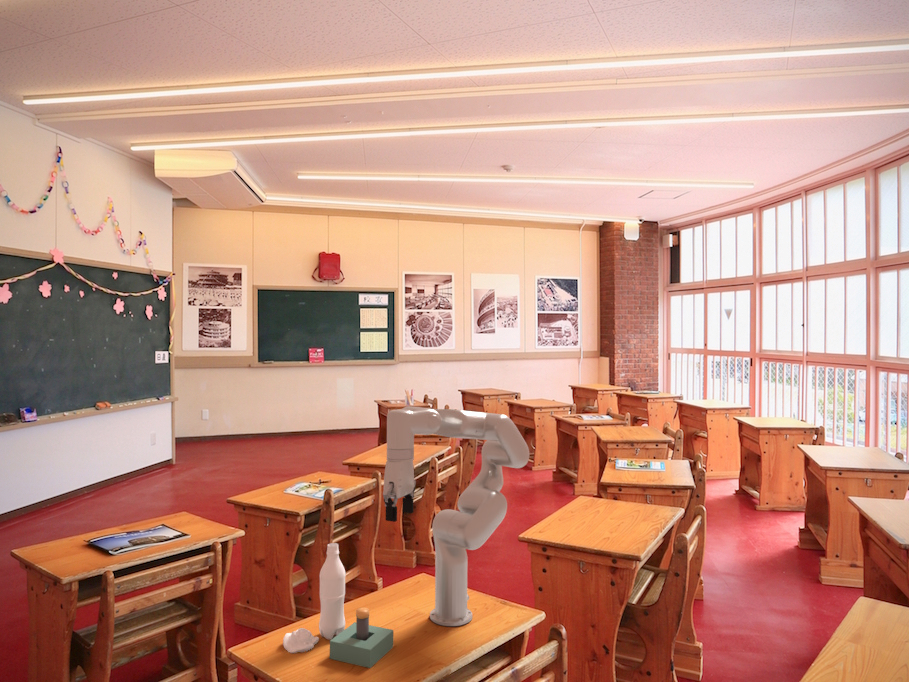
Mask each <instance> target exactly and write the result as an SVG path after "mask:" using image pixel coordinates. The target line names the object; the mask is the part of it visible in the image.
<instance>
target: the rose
mask: <svg viewBox="0 0 909 682" xmlns="http://www.w3.org/2000/svg"><path fill="white" fill-rule="evenodd" d="M319 640H320V638H319V637H318V636H314V635H313V634H312V632H311V630H309V629H306V628H303V627H299V628H298V629H296V630H293V631H292V632H286V633H285V635H284V636H283V638H282V646H283V647H284V649H285V651H286V650H287V651H288V652H287V651H286V652H287V653H289V652H290V653H289V654H298V653H297V652H301V653H305V651H306V652H309V651H311V650H313V649H314V647H315V646H316V645H317V644H318V642H319ZM315 644H316V645H315ZM314 645H315V646H314ZM312 648H313V649H312ZM310 649H311V650H310ZM308 650H309V651H308Z"/></svg>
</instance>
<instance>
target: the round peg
mask: <svg viewBox="0 0 909 682" xmlns="http://www.w3.org/2000/svg"><path fill="white" fill-rule="evenodd" d="M355 617H356V620H355V622H356V639H359V640H363V641H366V640H367V639H368V638H369V625H370V608H368V607H359V608H357V609H356V610H355Z"/></svg>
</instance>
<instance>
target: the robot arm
mask: <svg viewBox="0 0 909 682" xmlns="http://www.w3.org/2000/svg"><path fill="white" fill-rule="evenodd" d="M416 435H424V436H430V435H437V436H442V437H446V438H453V439H468V440H469V439H470V440H482V441H484V443H483V445H482V448H481V467H480V471H479V473H478V474H477V476H476V477H475V478H474V479H473V480H472V481H471V483H469V485H467V487H466V488H465V489H464V490H463V491H462V492H461V494H460V496H459V497H458V499H457V508H458V510H457V509H449V508H447V509H443V510H440V511H439V512H438V513H437V514H436V515H435V516H434V518H433V520H432V524H431V525H432V527H431V528H432V536H433V540H434V549H435V551H434V552H435V565H434V566H435V570H434V571H435V575H434V576H435V579H434V580H435V581H434V585H435V588H434V589H435V590H434V592H435V594H434V595H435V598H434V604H435V605H434V607H435V608H433V609H432V610H431V611H430V612H429V618H430V619H429V620H431V621H432V623H434V624H436V625H440V626H444V627H445V626H446V627H459V626H463V625H466V624H468V623H470V621H472V620H473V612H472V611H471V610H470V609H469V608H468V601H469V600H470V595H469V594H468V554H467V550H469V551H475V550H477V549H479V548H481V547H482V546H483V545H484V544H485V543H486V542H487V540H488V539H489V538H490V537H491V535H493V533H494V532H495V530H496V529H497V528H498V527H499V526H500V525H501V523H502V522H503V520H504V519H505V518H506V514H507V512H508V501H507V498H506V496H505V495H504V494H503V493H502V492H501V490H502V488H503V486H504V475H503V474H504V473H503V467H508V468H512V469H513V468H514V469H521V468H523V467H525V466H526V465H527V464H528V462H529V459H530V448H529V446H528V444H527V442H526V440H525V439H524V437H523V436H522V434H521V432H520V431H519V428H518V427H517V425H516V424H515V423H514V421H513V420H512V419H511V418H510V417H509V416H508V415H506V414H504V413H503V414H500V413H492V412H490V413H489V412H483V411H474V410H472V411H471V410H464V409H455V408H453V409H452V408H443V409H442V408H429V407H428V408H427V407H421V406H409V405H407V406H404V407H402V408H399V409H393V410H392V409H391V410H389V411H388V412H387V415H386V462H385V468H384V475H383V476H384V477H383V491H382V496H383V497H382V498H383V502H384V507H385V521H386V522H393V523H396V522H397V521H398V505H397V504H398V503H397V502H398V500H399V499H401V498H402V506H401V507H402V509H401V510H402V512H403V513H407V514H413V513H414V498H415V491H416V483H417V481H416V480H415V471H414V469H415V468H414V467H415V466H414V460H415V456H414V455H415V436H416ZM396 505H397V506H396Z"/></svg>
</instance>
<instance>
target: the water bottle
mask: <svg viewBox="0 0 909 682" xmlns="http://www.w3.org/2000/svg"><path fill="white" fill-rule="evenodd" d="M326 547H327V548H326V553H325V554H326V559H325V560H324V561H325V562H324V563H323V565H322V567H321V568H320V571H319V601H320V615H319V621H318V622H319V623H318V630H319V634H320V636H321V637H323V638H325V639H326V640H332V639H333V638H334V637H336V636H337V635H338V634H340V633H341V632H342V631H344V630H345V629H346V619H345V609H344V608H345V606H344V605H345V603H344V602H345V595H346V570H345V566H344V565H343V563H342V561H341V559H340V556H339V554H340V551H339V550H340V549H339V543H336V542H331V543H328V544H327V546H326Z"/></svg>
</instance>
